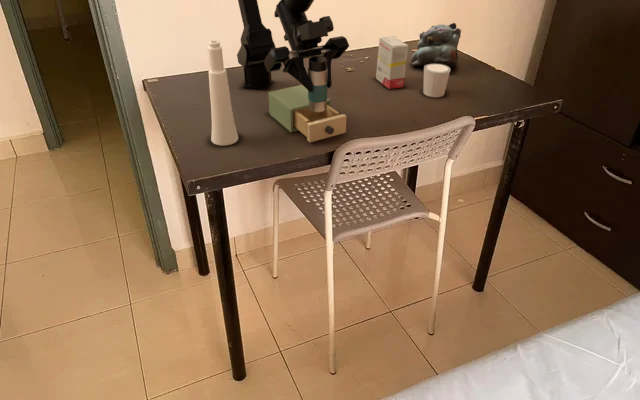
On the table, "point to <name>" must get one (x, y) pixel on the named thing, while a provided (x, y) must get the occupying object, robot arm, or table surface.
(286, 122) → the drawer unit
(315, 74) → the thermos flask
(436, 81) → the white cylinder
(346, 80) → the table surface
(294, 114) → the drawer
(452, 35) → the lucky cat figurine
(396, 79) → the ink box
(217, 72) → the cosmetic bottle
